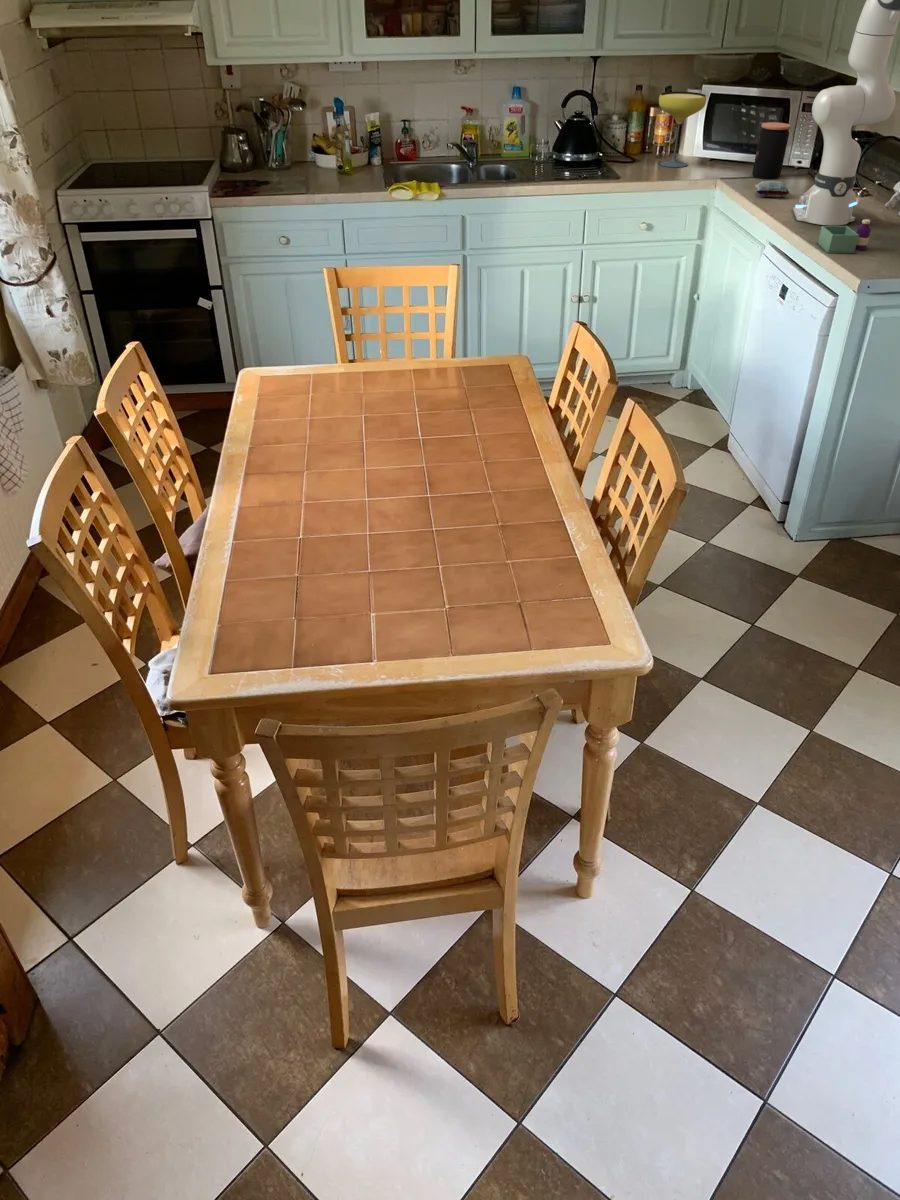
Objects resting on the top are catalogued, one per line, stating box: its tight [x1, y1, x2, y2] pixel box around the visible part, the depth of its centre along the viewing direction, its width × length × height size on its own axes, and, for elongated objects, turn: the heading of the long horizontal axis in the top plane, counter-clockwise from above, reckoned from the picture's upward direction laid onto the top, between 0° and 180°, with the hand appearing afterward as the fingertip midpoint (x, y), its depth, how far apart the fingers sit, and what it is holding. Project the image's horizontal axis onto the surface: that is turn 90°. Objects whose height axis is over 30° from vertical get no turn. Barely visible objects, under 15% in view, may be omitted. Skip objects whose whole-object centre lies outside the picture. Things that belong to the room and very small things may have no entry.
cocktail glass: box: [658, 91, 707, 168], centre depth 354 cm, size 18×18×25 cm
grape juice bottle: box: [855, 218, 872, 251], centre depth 265 cm, size 4×4×8 cm
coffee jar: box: [752, 121, 792, 180], centre depth 339 cm, size 11×11×18 cm
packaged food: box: [754, 180, 791, 198], centre depth 318 cm, size 9×12×5 cm
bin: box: [817, 225, 859, 254], centre depth 266 cm, size 10×8×5 cm
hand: (893, 211), depth 261 cm, fingers open, 8 cm apart
